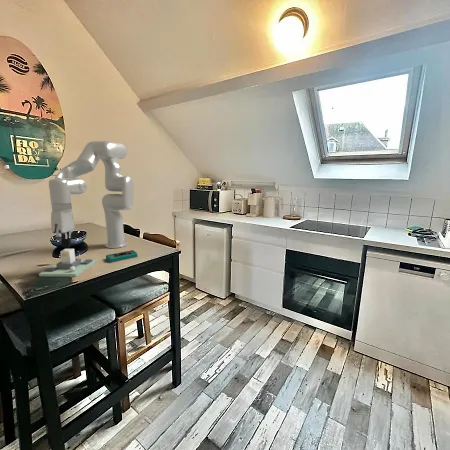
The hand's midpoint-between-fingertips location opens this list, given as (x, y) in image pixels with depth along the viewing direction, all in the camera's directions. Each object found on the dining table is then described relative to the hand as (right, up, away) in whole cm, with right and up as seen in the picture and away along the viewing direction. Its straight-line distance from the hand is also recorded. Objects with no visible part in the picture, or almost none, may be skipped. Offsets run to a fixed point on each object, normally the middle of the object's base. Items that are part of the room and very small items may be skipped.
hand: (66, 246), depth 117 cm
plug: (0, -9, +2) cm, 10 cm away
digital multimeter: (+18, -8, +18) cm, 27 cm away
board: (0, -11, +3) cm, 11 cm away
